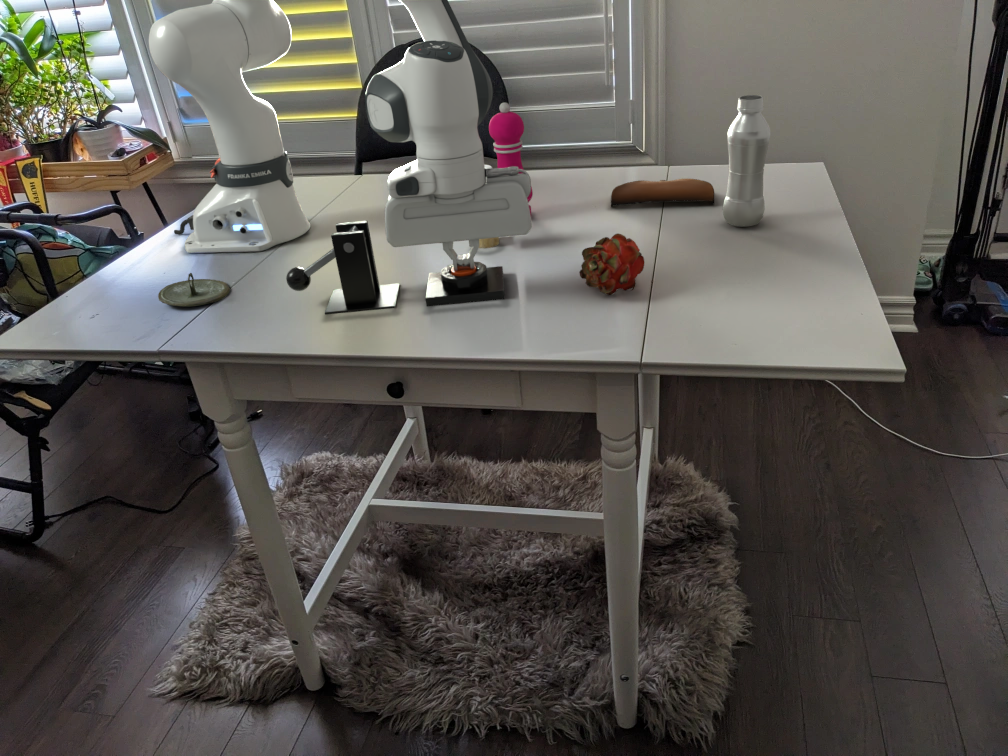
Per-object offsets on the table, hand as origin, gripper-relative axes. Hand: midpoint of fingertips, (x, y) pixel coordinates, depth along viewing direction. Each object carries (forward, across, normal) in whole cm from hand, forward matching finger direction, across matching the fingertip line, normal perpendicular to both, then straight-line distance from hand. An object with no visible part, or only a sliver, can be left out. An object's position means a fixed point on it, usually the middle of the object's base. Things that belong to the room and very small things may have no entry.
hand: (464, 268), depth 114 cm
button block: (+4, 0, 0) cm, 4 cm away
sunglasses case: (+4, -35, -33) cm, 48 cm away
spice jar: (+4, -3, -18) cm, 19 cm away
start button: (+2, 0, 0) cm, 2 cm away
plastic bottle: (+4, -45, -18) cm, 49 cm away
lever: (-2, +19, 0) cm, 19 cm away
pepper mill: (+4, -8, -32) cm, 33 cm away
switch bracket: (+4, +15, 0) cm, 16 cm away
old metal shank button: (+4, +42, -7) cm, 43 cm away
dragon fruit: (+4, -21, +2) cm, 21 cm away
